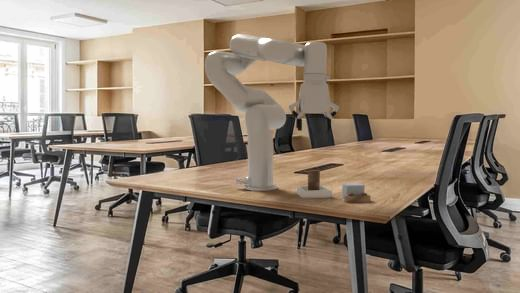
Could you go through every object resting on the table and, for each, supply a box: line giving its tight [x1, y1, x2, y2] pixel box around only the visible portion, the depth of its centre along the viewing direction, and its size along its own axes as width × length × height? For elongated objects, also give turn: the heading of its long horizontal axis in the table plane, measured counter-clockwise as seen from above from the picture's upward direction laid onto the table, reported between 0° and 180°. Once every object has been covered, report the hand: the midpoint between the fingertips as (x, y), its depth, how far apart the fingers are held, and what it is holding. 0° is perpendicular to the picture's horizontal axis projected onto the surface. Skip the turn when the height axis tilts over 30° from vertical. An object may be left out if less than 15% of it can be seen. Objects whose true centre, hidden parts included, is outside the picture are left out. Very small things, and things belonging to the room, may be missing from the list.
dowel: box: [307, 169, 321, 191], centre depth 146 cm, size 4×4×8 cm
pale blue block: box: [341, 182, 365, 200], centre depth 140 cm, size 6×4×5 cm, turn 100°
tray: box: [296, 185, 333, 200], centre depth 146 cm, size 10×10×2 cm
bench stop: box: [343, 192, 371, 203], centre depth 136 cm, size 8×2×3 cm, turn 98°
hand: (313, 130), depth 145 cm, fingers open, 9 cm apart
